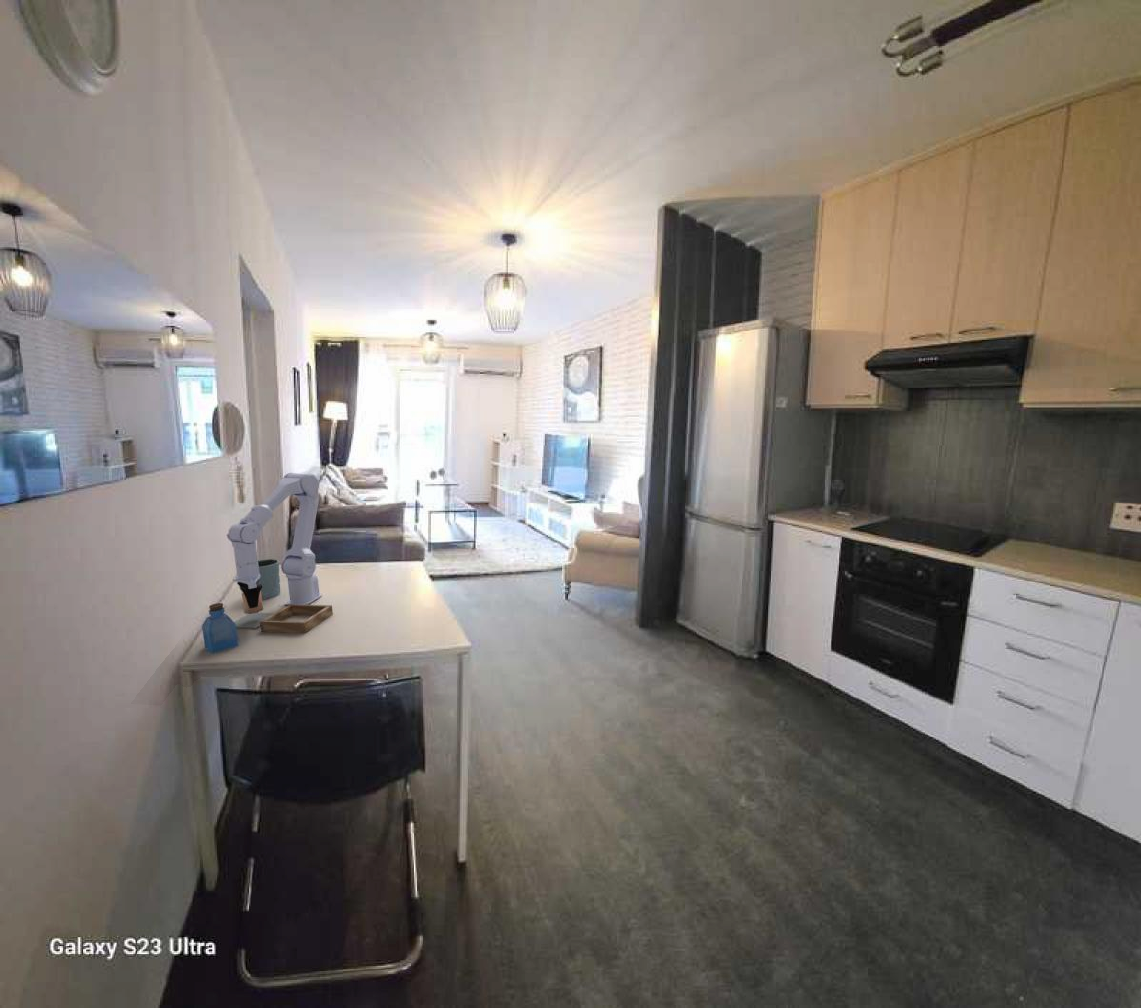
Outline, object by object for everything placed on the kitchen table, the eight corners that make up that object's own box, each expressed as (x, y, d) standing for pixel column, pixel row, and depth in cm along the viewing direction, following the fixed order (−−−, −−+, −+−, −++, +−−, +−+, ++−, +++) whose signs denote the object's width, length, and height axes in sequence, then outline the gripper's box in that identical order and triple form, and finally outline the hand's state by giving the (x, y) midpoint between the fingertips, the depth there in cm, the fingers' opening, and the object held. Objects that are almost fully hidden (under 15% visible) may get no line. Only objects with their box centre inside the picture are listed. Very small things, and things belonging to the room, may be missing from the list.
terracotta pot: (253, 607, 157) (251, 589, 156) (266, 608, 156) (264, 589, 155) (240, 613, 152) (237, 594, 151) (254, 614, 151) (251, 595, 150)
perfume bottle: (231, 639, 142) (225, 599, 139) (238, 645, 138) (233, 604, 136) (205, 647, 137) (198, 605, 135) (212, 653, 133) (206, 611, 131)
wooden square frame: (291, 613, 160) (290, 604, 160) (332, 614, 159) (331, 605, 158) (260, 631, 147) (259, 621, 146) (305, 632, 145) (304, 623, 145)
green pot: (288, 590, 181) (285, 559, 179) (269, 600, 172) (265, 567, 169) (262, 590, 182) (259, 558, 180) (242, 600, 173) (238, 566, 170)
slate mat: (252, 613, 160) (252, 612, 160) (281, 614, 159) (281, 613, 159) (225, 628, 149) (225, 626, 149) (256, 629, 148) (256, 627, 148)
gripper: (228, 559, 154) (233, 601, 156) (234, 570, 143) (239, 615, 145) (255, 555, 158) (260, 596, 161) (262, 565, 147) (267, 609, 150)
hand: (252, 604), depth 153 cm, fingers closed on terracotta pot, 5 cm apart
